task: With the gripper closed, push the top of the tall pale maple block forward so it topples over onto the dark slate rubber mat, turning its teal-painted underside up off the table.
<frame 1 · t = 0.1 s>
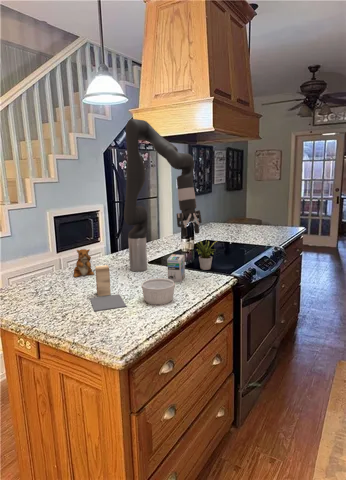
hand: (191, 234, 153), 22 cm above the worktop, tool pointing down, fingers open, 8 cm apart
slate mat: (107, 302, 134), on the worktop
ramekin: (158, 300, 137), on the worktop
house plant: (203, 268, 180), on the worktop
light bulb box: (176, 279, 164), on the worktop
maple block: (103, 294, 144), on the worktop
stuffed squirrel: (83, 273, 175), on the worktop
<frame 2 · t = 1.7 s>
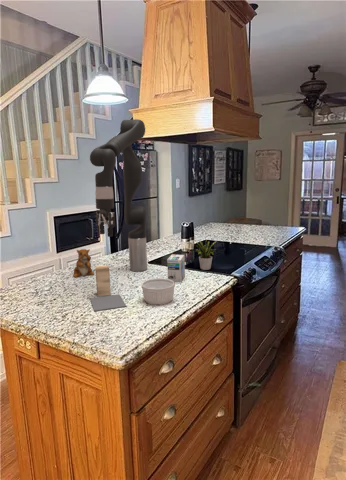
hand: (106, 235, 147), 24 cm above the worktop, tool pointing down, fingers open, 8 cm apart
nothing on the worktop moved.
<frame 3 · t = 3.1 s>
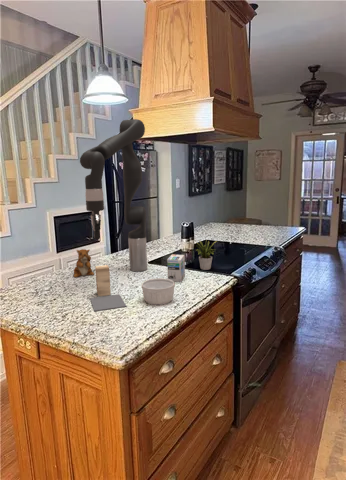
hand: (97, 238, 151), 22 cm above the worktop, tool pointing down, fingers closed
nothing on the worktop moved.
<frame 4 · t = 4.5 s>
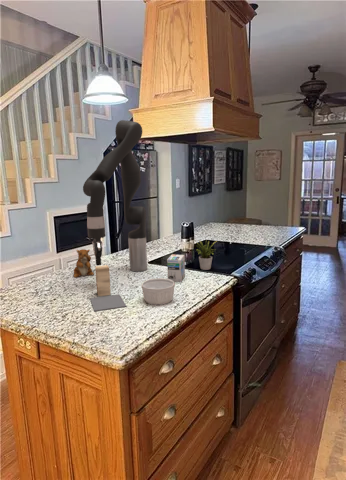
hand: (98, 264, 152), 10 cm above the worktop, tool pointing down, fingers closed
nothing on the worktop moved.
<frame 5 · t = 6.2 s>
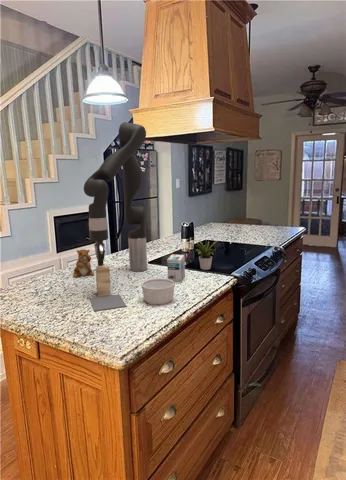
hand: (100, 268, 145), 10 cm above the worktop, tool pointing down, fingers closed
maple block: (103, 294, 144), on the worktop, touching gripper
everything else where it was.
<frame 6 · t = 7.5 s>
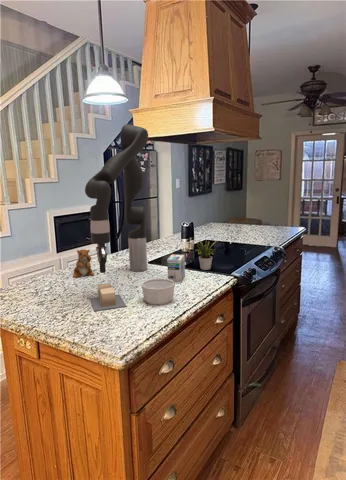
hand: (102, 272, 141), 10 cm above the worktop, tool pointing down, fingers closed
maple block: (104, 289, 141), point 3 cm above the worktop, tilted 90°, touching slate mat
everything else where it was.
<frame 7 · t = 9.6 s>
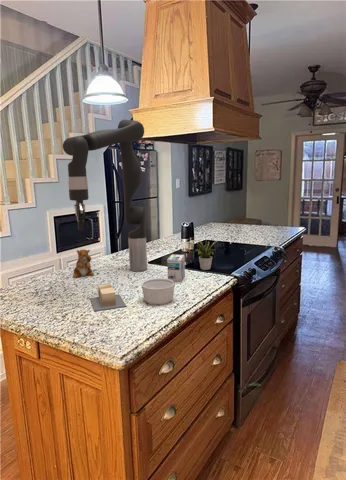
hand: (81, 230, 141), 27 cm above the worktop, tool pointing down, fingers closed
nothing on the worktop moved.
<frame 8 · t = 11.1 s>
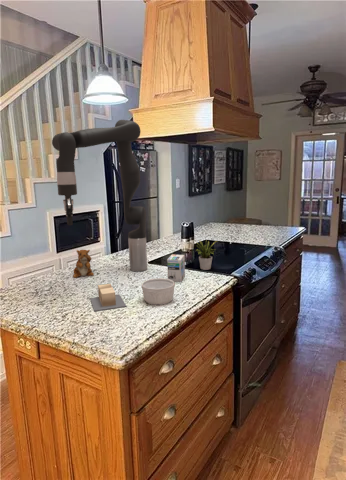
hand: (70, 225, 144), 29 cm above the worktop, tool pointing down, fingers closed
at the end: maple block tilted 90°; maple block touching slate mat; maple block inside the target area (0.2 cm from its centre), point 2.9 cm above the worktop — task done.
